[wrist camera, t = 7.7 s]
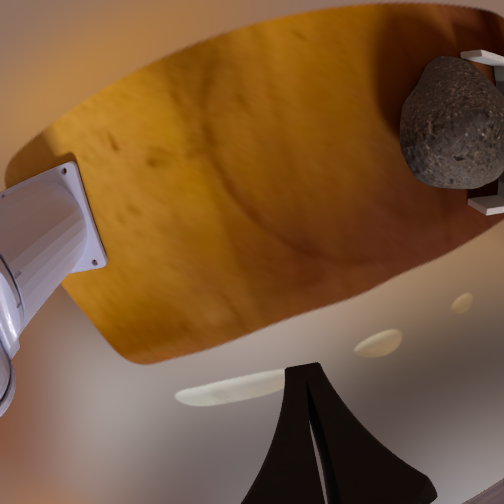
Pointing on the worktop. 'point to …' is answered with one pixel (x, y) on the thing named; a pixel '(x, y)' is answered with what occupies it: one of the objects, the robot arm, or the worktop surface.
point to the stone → (453, 126)
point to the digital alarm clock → (500, 64)
